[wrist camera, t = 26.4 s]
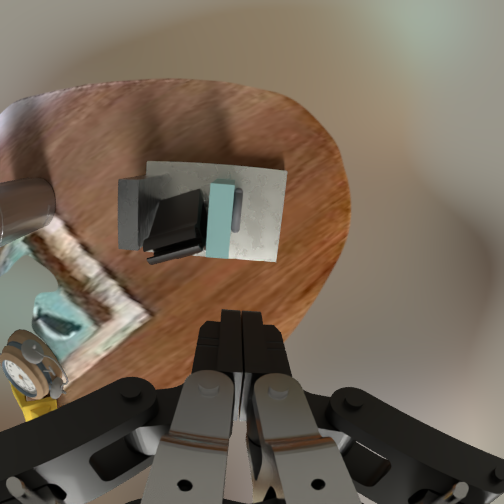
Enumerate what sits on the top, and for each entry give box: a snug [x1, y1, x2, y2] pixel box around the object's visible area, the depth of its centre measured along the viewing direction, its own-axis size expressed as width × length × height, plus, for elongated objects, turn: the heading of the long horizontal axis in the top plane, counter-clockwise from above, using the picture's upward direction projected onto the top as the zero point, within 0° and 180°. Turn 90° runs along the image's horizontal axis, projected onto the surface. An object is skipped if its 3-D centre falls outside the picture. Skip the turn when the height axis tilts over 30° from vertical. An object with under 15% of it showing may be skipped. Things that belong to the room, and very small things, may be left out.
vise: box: [118, 161, 287, 262], centre depth 35 cm, size 14×20×12 cm
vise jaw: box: [206, 178, 243, 259], centre depth 34 cm, size 8×4×10 cm, turn 174°
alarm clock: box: [0, 329, 68, 399], centre depth 45 cm, size 17×9×23 cm
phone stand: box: [143, 189, 208, 265], centre depth 34 cm, size 9×6×12 cm, turn 14°
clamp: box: [9, 381, 57, 422], centre depth 50 cm, size 14×25×12 cm
